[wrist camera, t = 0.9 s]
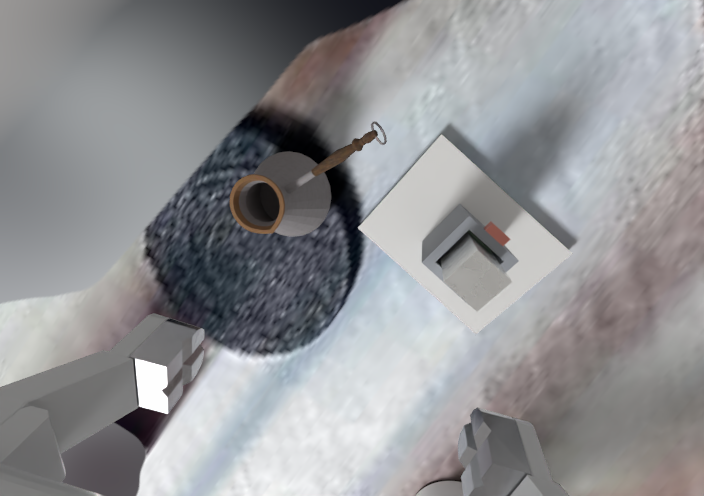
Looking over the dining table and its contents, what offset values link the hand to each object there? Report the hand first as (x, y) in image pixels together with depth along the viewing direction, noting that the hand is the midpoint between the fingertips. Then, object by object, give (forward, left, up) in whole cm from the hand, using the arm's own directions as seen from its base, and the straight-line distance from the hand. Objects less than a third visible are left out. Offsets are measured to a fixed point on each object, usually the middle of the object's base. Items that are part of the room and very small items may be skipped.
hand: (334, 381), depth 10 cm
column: (-8, -2, -38) cm, 38 cm away
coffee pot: (+11, +4, -39) cm, 41 cm away
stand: (-8, -2, -39) cm, 40 cm away
